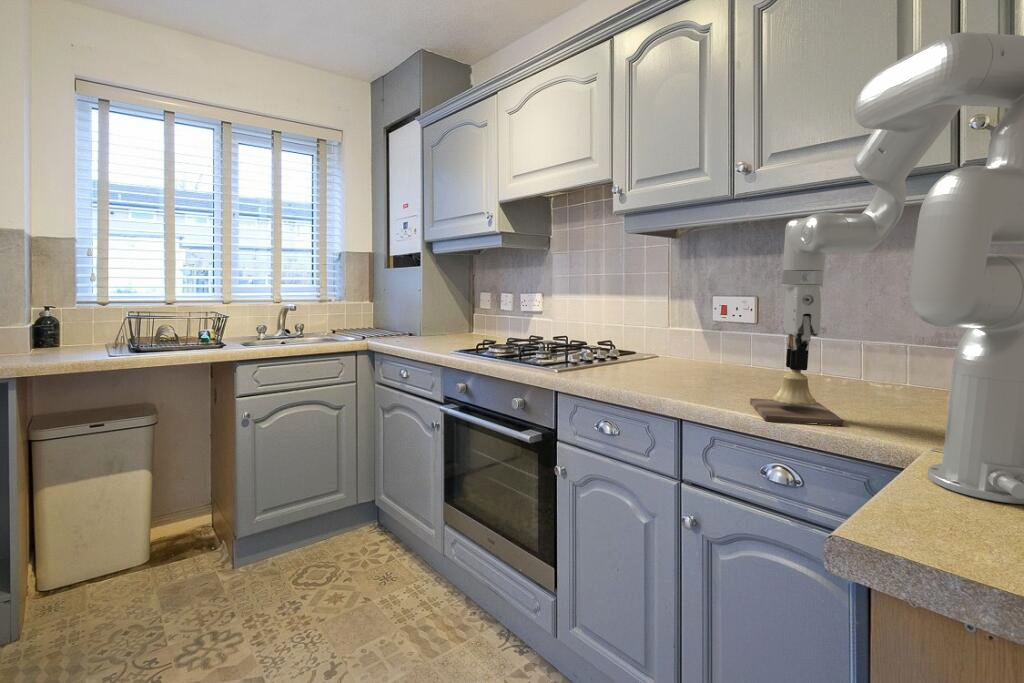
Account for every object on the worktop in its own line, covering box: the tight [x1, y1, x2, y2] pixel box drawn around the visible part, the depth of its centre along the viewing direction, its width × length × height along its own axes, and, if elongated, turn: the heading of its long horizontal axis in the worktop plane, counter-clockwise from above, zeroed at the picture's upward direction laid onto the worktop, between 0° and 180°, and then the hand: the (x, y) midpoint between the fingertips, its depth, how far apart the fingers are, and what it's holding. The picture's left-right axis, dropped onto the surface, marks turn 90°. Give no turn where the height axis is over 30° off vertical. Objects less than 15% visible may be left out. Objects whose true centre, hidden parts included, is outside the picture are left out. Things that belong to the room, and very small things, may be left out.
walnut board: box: [749, 397, 844, 426], centre depth 116 cm, size 16×14×1 cm
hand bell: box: [771, 333, 817, 406], centre depth 114 cm, size 8×8×16 cm
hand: (796, 367), depth 114 cm, fingers closed on hand bell
